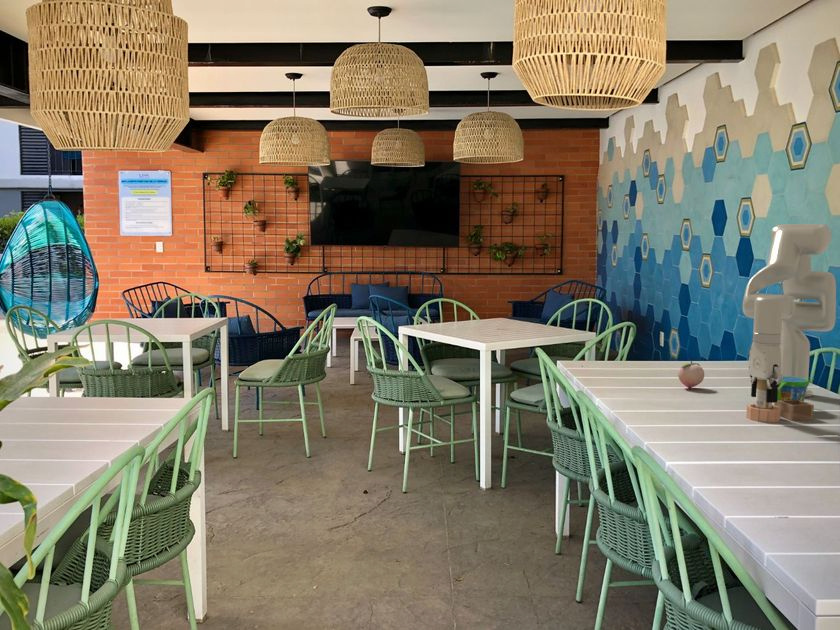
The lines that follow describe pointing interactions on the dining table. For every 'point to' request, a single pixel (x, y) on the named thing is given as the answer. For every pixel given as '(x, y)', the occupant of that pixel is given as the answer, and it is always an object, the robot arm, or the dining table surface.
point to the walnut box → (796, 410)
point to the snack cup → (792, 389)
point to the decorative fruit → (691, 374)
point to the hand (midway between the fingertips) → (763, 399)
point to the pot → (763, 413)
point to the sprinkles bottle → (762, 394)
